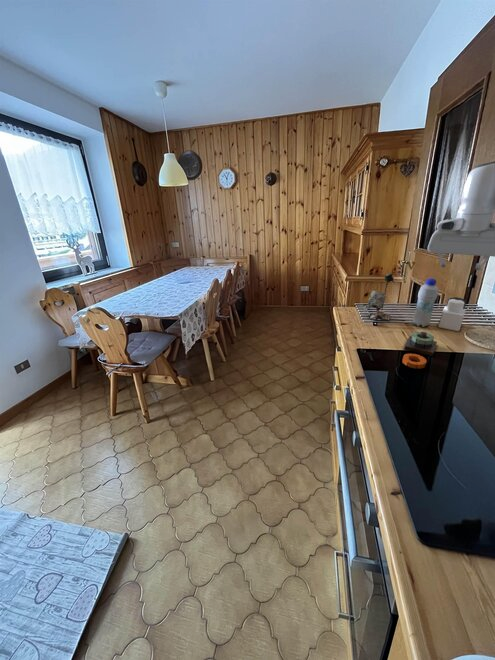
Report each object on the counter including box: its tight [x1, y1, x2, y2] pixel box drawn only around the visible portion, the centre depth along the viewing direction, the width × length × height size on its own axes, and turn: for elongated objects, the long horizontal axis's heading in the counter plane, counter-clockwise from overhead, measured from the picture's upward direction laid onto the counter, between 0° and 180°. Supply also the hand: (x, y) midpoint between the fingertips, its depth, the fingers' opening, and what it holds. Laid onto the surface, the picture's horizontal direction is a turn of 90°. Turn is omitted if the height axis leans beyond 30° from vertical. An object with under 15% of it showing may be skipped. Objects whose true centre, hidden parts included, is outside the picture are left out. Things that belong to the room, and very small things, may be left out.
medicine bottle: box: [438, 296, 467, 332], centre depth 114 cm, size 7×7×12 cm
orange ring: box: [401, 353, 428, 370], centre depth 95 cm, size 7×7×2 cm
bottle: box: [412, 278, 439, 328], centre depth 115 cm, size 7×7×20 cm
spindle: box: [403, 331, 438, 357], centre depth 102 cm, size 9×9×6 cm
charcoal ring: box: [410, 339, 433, 349], centre depth 103 cm, size 7×7×2 cm
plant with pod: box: [363, 272, 395, 321], centre depth 124 cm, size 8×11×20 cm
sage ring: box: [411, 331, 435, 345], centre depth 102 cm, size 7×7×2 cm
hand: (459, 268), depth 92 cm, fingers open, 8 cm apart
